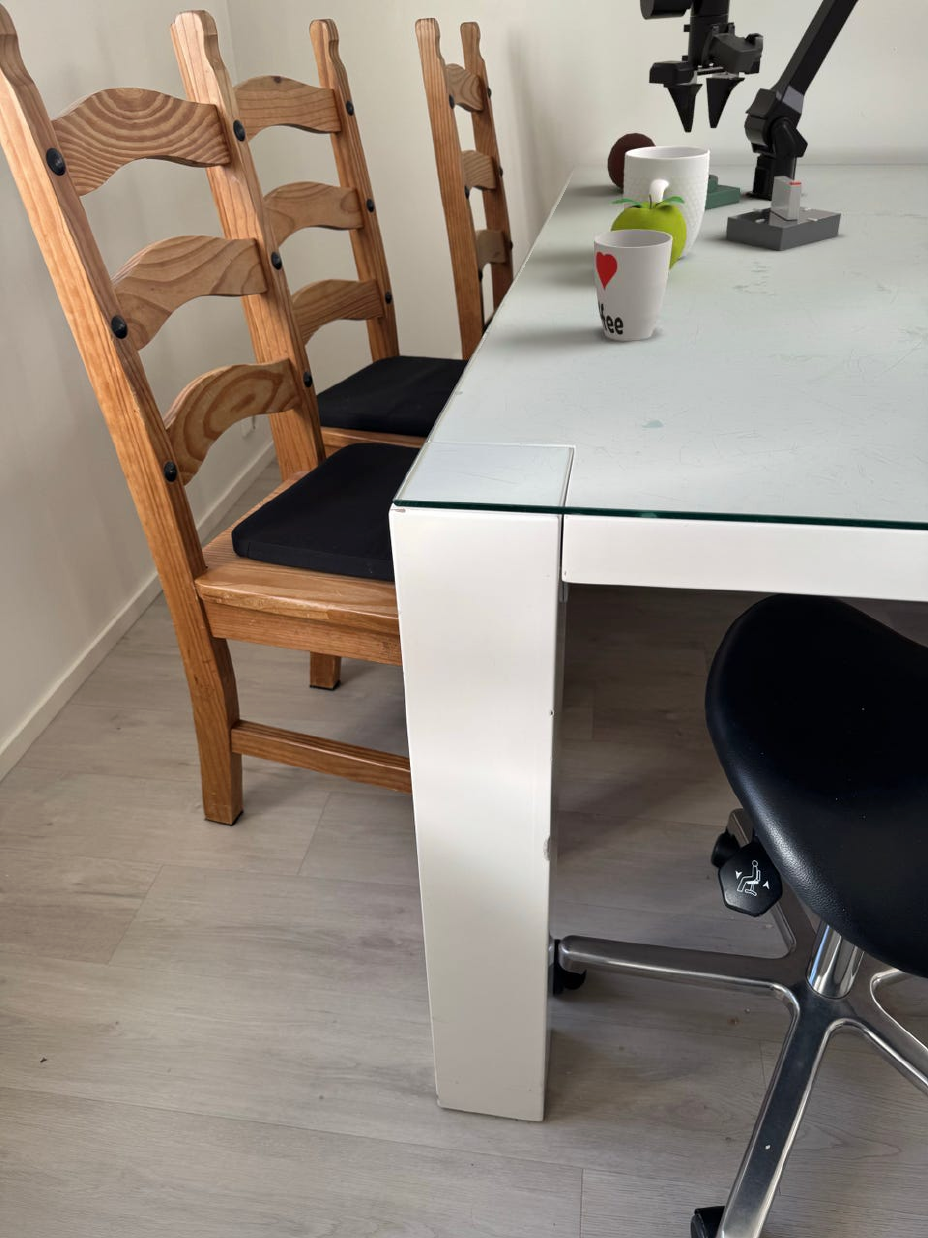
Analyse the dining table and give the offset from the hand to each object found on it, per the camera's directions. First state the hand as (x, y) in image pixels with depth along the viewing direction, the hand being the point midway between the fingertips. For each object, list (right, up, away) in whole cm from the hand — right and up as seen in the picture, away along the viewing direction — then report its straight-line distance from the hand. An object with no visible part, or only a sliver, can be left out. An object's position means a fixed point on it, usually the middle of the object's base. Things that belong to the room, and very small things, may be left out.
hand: (700, 130), depth 154 cm
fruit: (-14, -34, -30) cm, 48 cm away
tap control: (+1, -9, +6) cm, 11 cm away
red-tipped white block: (+7, -21, -18) cm, 29 cm away
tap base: (+8, -24, -16) cm, 30 cm away
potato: (-8, -2, +19) cm, 20 cm away
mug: (-11, -29, -22) cm, 38 cm away
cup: (-20, -47, -49) cm, 71 cm away
